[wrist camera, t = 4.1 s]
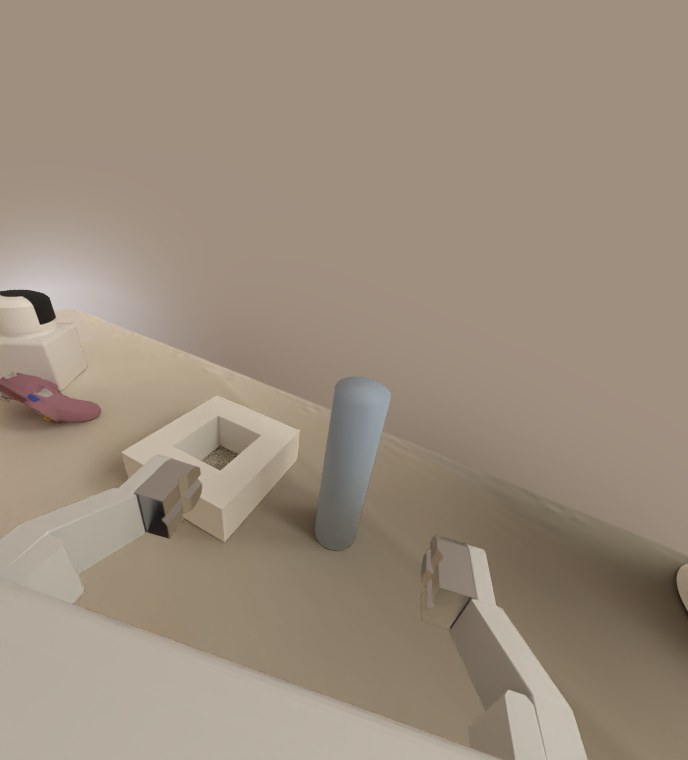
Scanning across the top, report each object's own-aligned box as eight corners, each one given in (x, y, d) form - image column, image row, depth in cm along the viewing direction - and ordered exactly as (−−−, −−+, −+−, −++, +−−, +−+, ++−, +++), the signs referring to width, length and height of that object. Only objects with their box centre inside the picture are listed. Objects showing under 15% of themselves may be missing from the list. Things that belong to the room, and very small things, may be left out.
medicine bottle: (33, 365, 47) (1, 283, 41) (89, 367, 48) (65, 288, 42) (-3, 391, 41) (-48, 300, 35) (61, 392, 42) (29, 305, 36)
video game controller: (26, 413, 40) (-30, 382, 34) (58, 386, 42) (10, 352, 37) (77, 442, 37) (25, 413, 31) (108, 411, 39) (65, 379, 34)
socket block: (297, 459, 37) (300, 430, 35) (224, 542, 28) (221, 509, 25) (219, 423, 41) (217, 394, 39) (130, 485, 31) (120, 452, 29)
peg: (363, 536, 30) (402, 398, 22) (330, 559, 28) (359, 413, 20) (339, 506, 33) (365, 372, 25) (306, 524, 30) (324, 383, 22)
